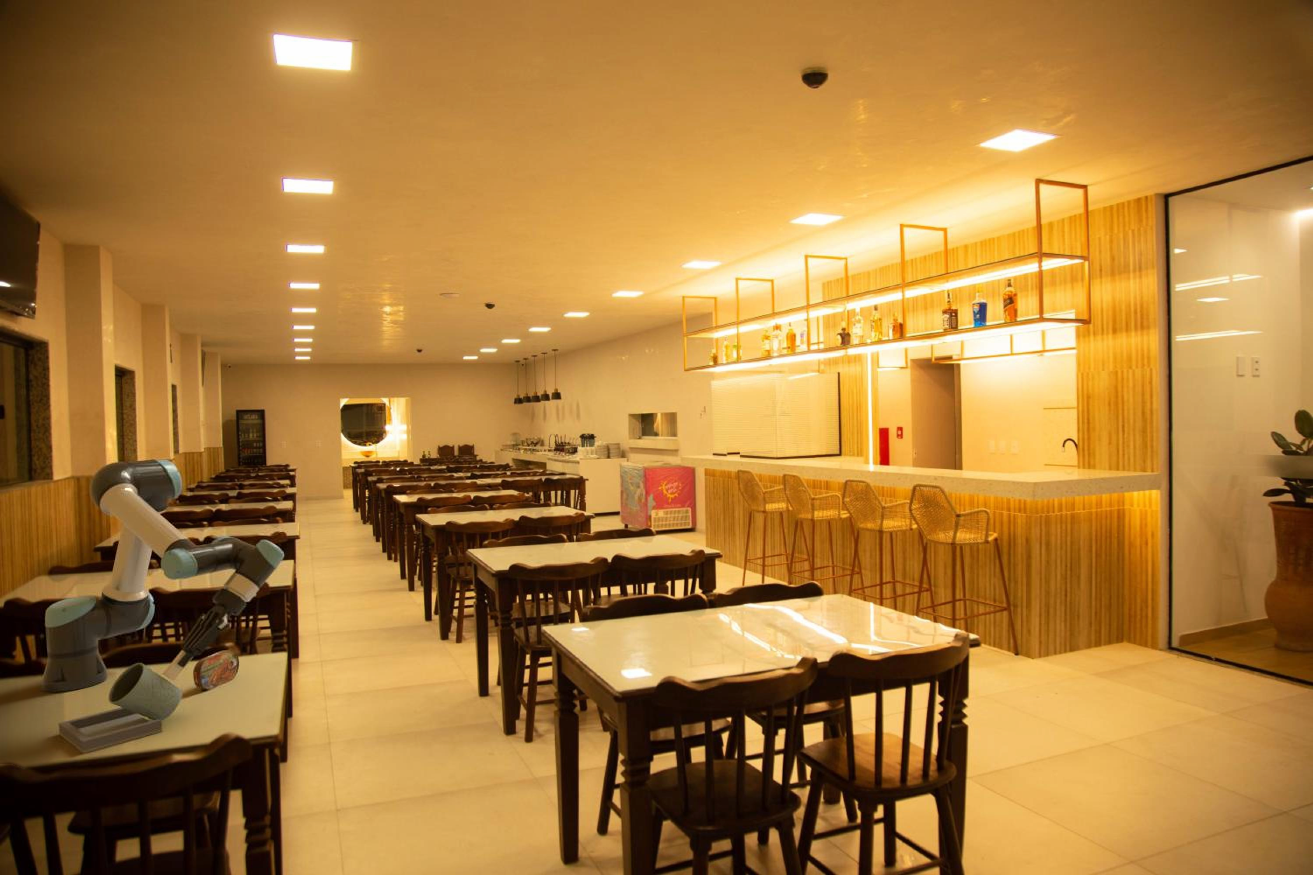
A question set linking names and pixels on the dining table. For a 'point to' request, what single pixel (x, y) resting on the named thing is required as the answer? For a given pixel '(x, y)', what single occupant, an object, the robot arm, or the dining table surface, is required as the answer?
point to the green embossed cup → (145, 693)
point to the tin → (216, 669)
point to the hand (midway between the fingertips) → (168, 677)
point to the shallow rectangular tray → (107, 729)
